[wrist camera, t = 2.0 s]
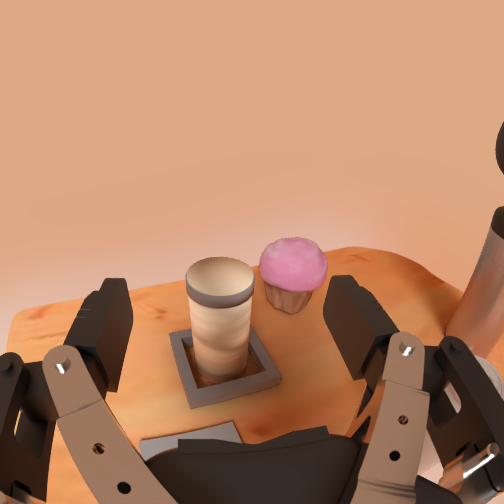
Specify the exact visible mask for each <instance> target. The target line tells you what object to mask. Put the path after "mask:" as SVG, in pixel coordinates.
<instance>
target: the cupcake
mask: <svg viewBox="0 0 504 504" xmlns="http://www.w3.org/2000/svg"><path fill="white" fill-rule="evenodd" d="M327 270H328V263H327V259H326V257H325V255H324V253H323V252H322V251H321V250H320V249H319V247H318V246H317V244H316V243H315V242H313V241H311V240H308V239H305V238H299V237H295V238H283V239H279V240H277V241H276V242H274V243H271V244H269V245H268V246H267V247H266V248H265V250H264V251H263V253H262V255H261V258H260V263H259V271H260V276H261V278H262V279H263V280H264V283H265V289H266V295H267V298H268V300H269V302H270V303H271V304H272V306H273V307H274V308H276V309H280V310H283V311H285V312H287V313H289V314H295V313H298V312H299V310H301V309H302V308H303V307H304V306H305V305H306V304H307V303H308V301H309V300H310V298H311V295H312V292H313V290H314V289H317V288H318V287H319V286H320V285H321V284H322V283H323V282H324V281H325V278H326V275H327Z"/></svg>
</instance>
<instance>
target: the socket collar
mask: <svg viewBox="0 0 504 504" xmlns="http://www.w3.org/2000/svg"><path fill="white" fill-rule="evenodd" d="M169 336H170V341H171V345H172V349H173V353H174V357H175V360H176V364H177V367H178V371H179V374H180V377H181V381H182V384H183V387H184V390H185V394H186V397H187V400H188V403H189V406H190V409H194V408H198V407H203V406H207V405H211V404H215V403H219V402H223V401H226V400H230V399H234V398H237V397H241V396H244V395H248V394H251V393H254V392H258V391H261V390H264V389H267V388H270V387H273V386H276V385H279V384H280V381H281V377H282V375H281V373H280V372H279V370H278V369H277V367H276V366H275V364H274V362H273V361H272V359H271V357H270V356H269V354H268V353H267V351H266V349H265V348H264V346H263V345H262V343H261V341H260V340H259V338H258V336H257V335H256V333H255V331H254V330H253V328H252V326H251V325H250V331H249V343H248V351H249V352H250V354H251V356H252V358H253V360H254V361H255V363H256V365H257V367H258V368H259V370H260V373H257V374H253V375H250V376H246V377H243V378H239V379H236V380H232V381H228V382H224V383H220V384H216V385H212V386H208V387H204V388H199V389H197V386H196V383H195V380H194V377H193V374H192V371H191V368H190V365H189V362H188V359H187V356H186V353H185V350H184V347H189V346H194V345H193V337H192V329H189V330H184V331H179V332H173V333H169Z"/></svg>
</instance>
